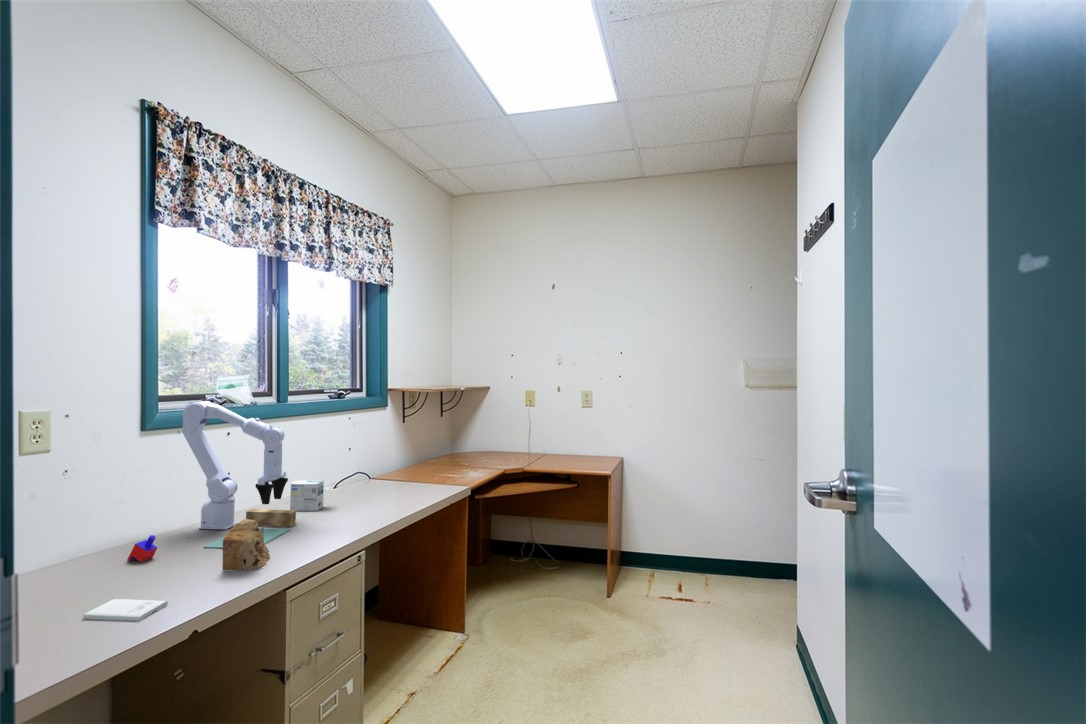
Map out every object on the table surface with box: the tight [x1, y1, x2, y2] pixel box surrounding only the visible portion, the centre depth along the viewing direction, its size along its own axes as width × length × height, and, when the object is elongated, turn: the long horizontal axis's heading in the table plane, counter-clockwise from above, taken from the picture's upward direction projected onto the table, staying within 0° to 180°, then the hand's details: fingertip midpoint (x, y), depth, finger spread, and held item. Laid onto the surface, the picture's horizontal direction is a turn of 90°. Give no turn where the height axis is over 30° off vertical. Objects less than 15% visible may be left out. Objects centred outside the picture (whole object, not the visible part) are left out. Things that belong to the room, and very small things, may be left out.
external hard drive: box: [82, 598, 169, 622], centre depth 116 cm, size 2×8×12 cm
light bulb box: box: [289, 480, 325, 512], centre depth 207 cm, size 11×7×11 cm, turn 94°
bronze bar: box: [245, 508, 297, 528], centre depth 185 cm, size 16×4×5 cm, turn 87°
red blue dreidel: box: [126, 534, 158, 563], centre depth 148 cm, size 4×4×8 cm
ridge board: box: [203, 527, 291, 549], centre depth 169 cm, size 16×20×2 cm
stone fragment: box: [222, 518, 271, 571], centre depth 148 cm, size 14×10×15 cm
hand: (271, 501), depth 185 cm, fingers open, 7 cm apart
